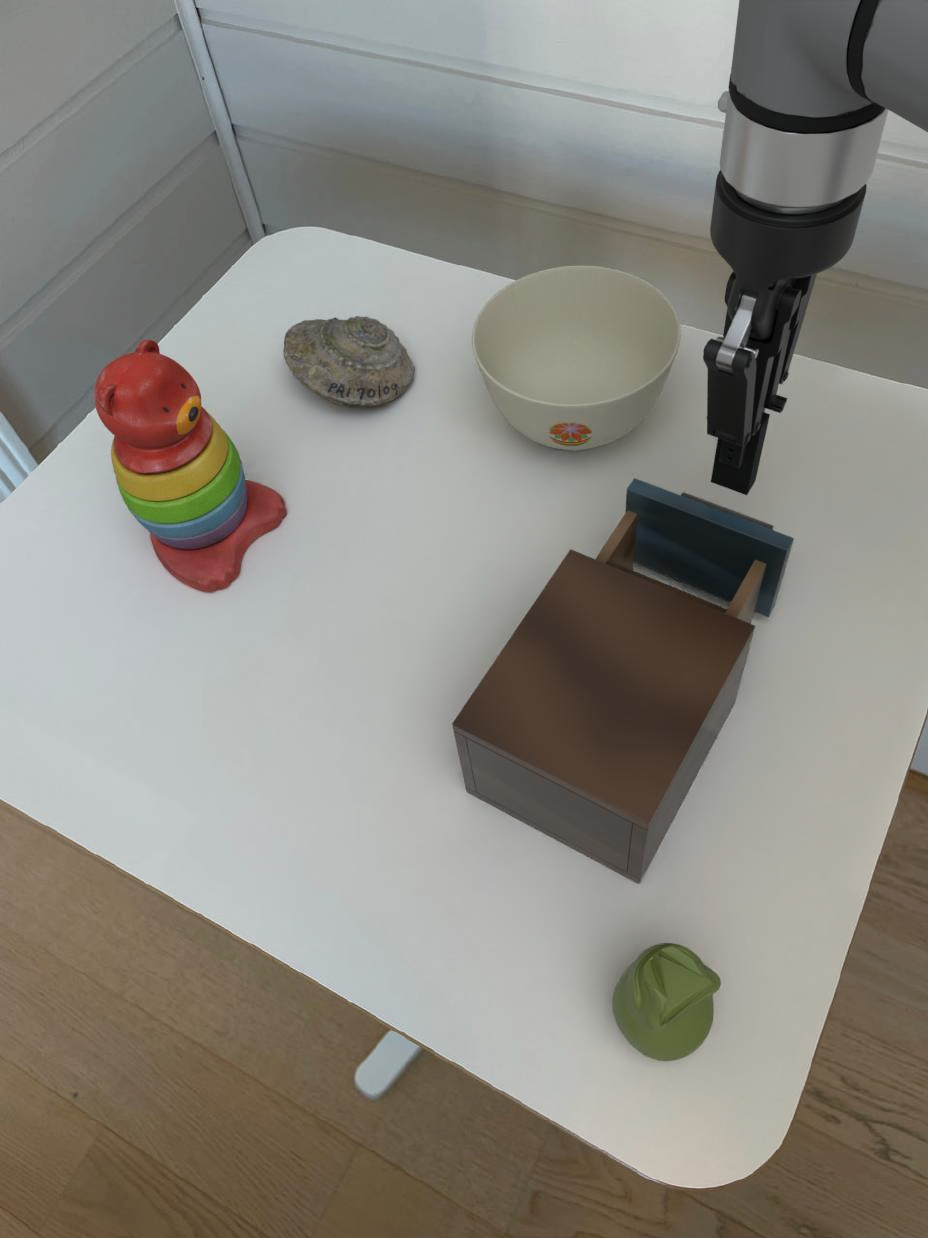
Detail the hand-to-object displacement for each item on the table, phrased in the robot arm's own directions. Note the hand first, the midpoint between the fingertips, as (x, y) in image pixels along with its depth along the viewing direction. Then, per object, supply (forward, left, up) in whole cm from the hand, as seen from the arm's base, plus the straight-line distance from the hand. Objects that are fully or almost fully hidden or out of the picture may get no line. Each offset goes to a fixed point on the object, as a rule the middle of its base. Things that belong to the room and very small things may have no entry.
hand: (732, 481), depth 71 cm
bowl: (+16, -6, -8) cm, 19 cm away
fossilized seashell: (+37, -2, -8) cm, 38 cm away
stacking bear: (+37, +18, -8) cm, 42 cm away
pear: (-11, +34, -8) cm, 36 cm away
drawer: (0, +9, -7) cm, 11 cm away
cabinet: (0, +20, -8) cm, 21 cm away
